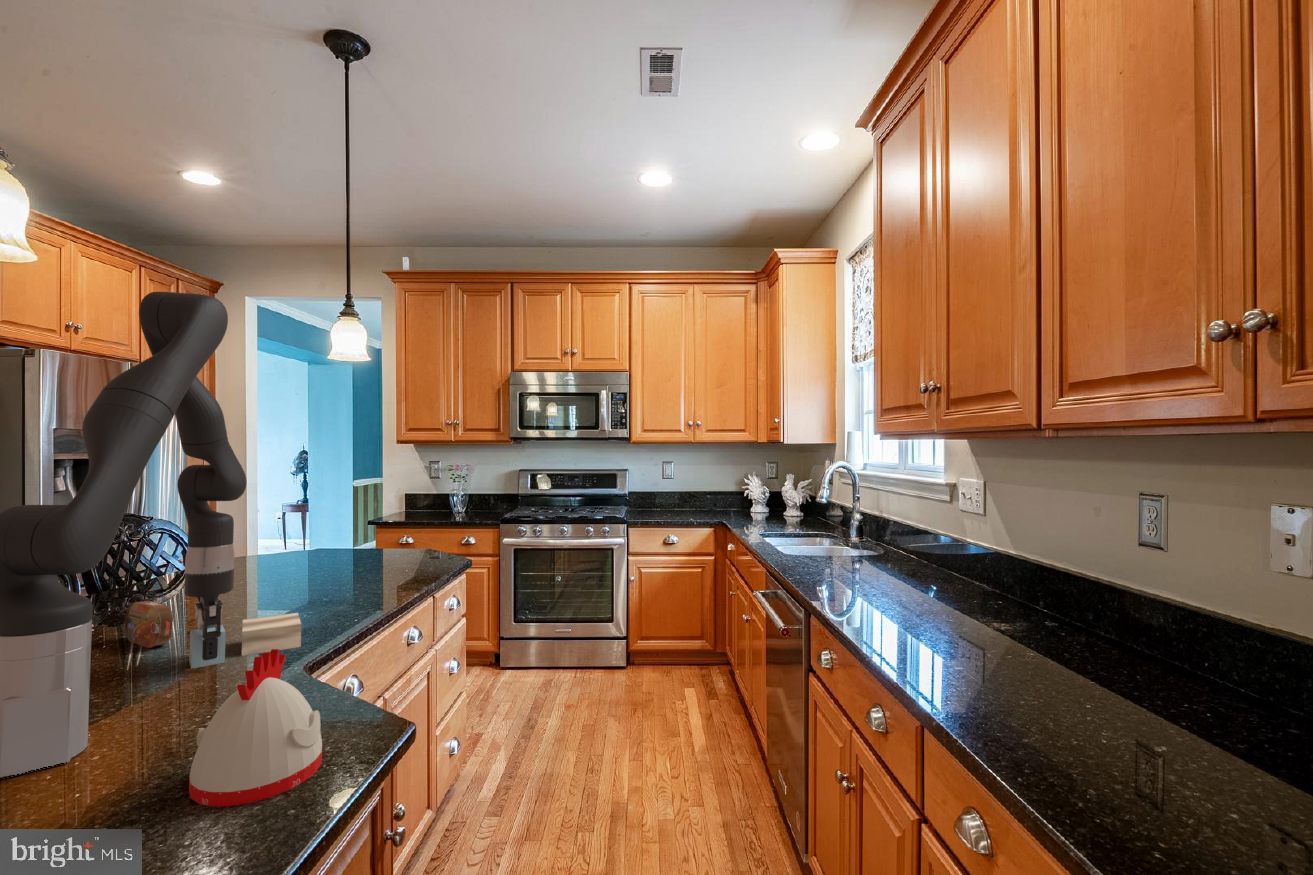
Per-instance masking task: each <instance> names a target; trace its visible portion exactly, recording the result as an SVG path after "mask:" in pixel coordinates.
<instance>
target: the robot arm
mask: <svg viewBox="0 0 1313 875" xmlns="http://www.w3.org/2000/svg"><path fill="white" fill-rule="evenodd" d="M138 316H139V323H140V327H141V331H142V333H143V334H142V335H143V337H144V339H145V341H146V344H147V346H148V350H149V352H150V354H151V356H150V357H148V358H146V359H145V360H143V361H141V362H139V363H137V364H136V365H133V366H132V367H130V368H129V369H126V370H125V371H123V372H121V373H120V374H118V375H117V376H116V377H114V378H112V379H111V380H110V381H109V382H108V383H107V384H106V385H105V386H104V387H103V388H102V389H101V391H100V393H99V394H98V396H97V397H96V399H95V400H94V401H93V403H92V404H91V406H90V407H89V409H88V411H87V412H86V415H84V418H83V421H82V425H81V426H82V430H81V431H82V438H83V442H84V446H85V450H86V454H87V457H88V472H87V475H86V476H85V478H84V481H83V482H82V485H80V487H79V490H78V491H77V493H76V494H75V496H74V497H73V498H72V500H71V501H70V502H69V503H67V504H23V505H15V506H12V507H9V508H7V509H4V510H3V511H0V777H3V776H9V775H15V776H18V775H17V774H19V775H23V774H26V773H25V772H27V773H29V772H28V771H30V770H35V771H37V770H36V769H39V770H41V769H40V768H43V767H47V768H49V767H48V766H52V767H55V766H54V765H56V764H60V763H64V764H67V763H70V761H71V760H72V758H74V757H76V756H78V755H79V754H80V753H82V752H83V751H84V750H86V748H87V747H88V743H89V742H88V740H89V738H88V736H89V734H88V733H89V712H90V711H89V710H90V708H89V707H90V686H91V684H90V680H91V678H90V677H91V653H92V635H93V633H92V631H93V602H92V601H91V599H90V598H88V597H86V596H84V595H82V594H78V593H76V592H75V591H72V590H71V589H68V588H67V587H65V586H64V585H63V584H62V583H61V581H59V578H58V576H65V575H66V576H68V575H69V576H70V575H78V574H83V573H86V572H88V571H89V570H92V569H93V568H95V567H96V566H97V565H98V564H99V563H100V562H101V561H102V560H103V559H104V558H105V556H106V554H107V553H108V551H109V550H110V548H111V546H112V544H113V542H114V541H115V538H116V536H117V533H118V531H119V528H120V527H121V526H120V525H121V524H122V521H123V519H124V516H125V513H126V512H127V509H128V506H129V504H130V501H131V498H132V496H133V494H134V492H135V488H136V486H137V485H138V483H139V480H140V478H141V477H142V474H143V472H144V470H145V468H146V466H147V465H148V463H149V461H150V459H151V457H152V455H153V453H154V451H155V449H157V446H158V445H159V443H160V441H161V439H162V438H163V437H164V435H165V433H166V432H167V430H168V428H169V426H170V424H171V422H172V421H173V419H174V416H175V420H176V426H177V430H178V435H179V440H180V444H181V449H182V451H183V453H184V454H185V455H186V456H187V457H190V458H193V459H194V458H195V459H198V460H201V461H205V462H207V463H208V464H191V465H189V466H186V467H185V468H183V470H181V472H180V474H179V476H178V478H177V483H176V484H177V486H176V487H177V492H178V495H179V498H180V501H181V504H182V508H183V511H184V514H185V515H184V516H185V519H186V522H187V528H188V529H187V549H186V554H185V562H184V564H185V565H184V588H183V589H184V595H185V596H187V597H191V598H196V599H197V602H196V603H194V613H195V615H194V617H195V622H196V628H197V629H200V630H202V636H201V639H202V641H203V647H202V659H203V660H210V659H215V658H216V657H217V652H218V638H219V637H220V635H221V632H220V630H221V625H222V623H223V620H222V618H223V617H222V612H223V609H224V607H223V606H224V605H223V602H222V600H221V599H219V596H220V595H222V594H223V595H225V594H228V593H230V592H231V591H233V589H234V581H235V580H234V579H235V575H234V574H235V548H234V536H235V535H234V533H235V532H234V528H235V525H234V524H235V521H234V517H233V516H232V515H230V514H228V513H225V512H219V511H216V510H213V509H212V508H211V506H210V504H209V502H233V501H235V500H237V499H239V498H241V497H242V496H243V494H244V493H245V491H246V489H247V483H248V482H247V476H246V473H245V470H244V469H243V466H242V465H241V463H240V461H239V459H238V458H237V456H236V454H235V452H234V450H233V448H232V445H231V444H230V442H229V438H228V432H227V427H226V421H225V417H224V413H223V412H224V411H223V409H222V408H221V406H220V403H219V402H218V401H217V399H216V398H215V396H214V395H213V394H212V393H211V392H210V390H209V389H208V388H207V387H206V386H205V384H204V383H203V382H202V381H201V380H200V379H199V378H198V374H199V373H200V372H201V370H202V369H203V368H204V366H205V365H206V363H207V362H208V361H209V360H210V358H211V357H212V355H214V353H215V351H216V350H217V348H218V347H219V346H220V344H221V342H222V341H223V339H224V338H225V335H226V332H227V329H228V324H229V317H228V316H229V315H228V310H227V308H226V306H225V305H224V303H223V302H222V301H220V300H219V299H218V298H216V297H214V296H211V295H207V294H206V295H205V294H201V293H192V292H191V293H186V292H176V291H175V292H174V291H152V292H150V293H149V292H148V293H147V294H146V295H145V296H144V297H142V299H141V301H140V303H139V308H138ZM208 628H215V631H211V632H207V629H208ZM66 762H67V763H66ZM60 765H61V764H60ZM56 766H57V765H56ZM43 769H44V768H43ZM22 773H23V774H22Z"/></svg>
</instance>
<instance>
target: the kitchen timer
mask: <svg viewBox="0 0 1313 875" xmlns="http://www.w3.org/2000/svg"><path fill="white" fill-rule="evenodd" d="M286 656H287V655H286V654H284V653H283V654H282V653H281V654H280V650H279V649H271V652H264V653H261V656H254V658H253V665H252V670H249V669H248V670H245V679H246V680H245V682H246V683H245V684H237V685H236V686H237V690H235V691H234V692H233V693H232V694H231V695H230V696H229V697H228V698H226V699H225V701H224V702H222V704H221V705H220V707H219V708H218V709H217V710H216V712H215V713H214V714H213V716H212V718H211V720H210V721H209V722H208V725H207V726H206V727H201V728H199V729H198V731H197V734H196V745H197V750H196V752H195V755H194V756H193V757H194V758H193V760H192V764H191V767H190V771H189V781H188V782H189V783H188V792H189V796H190V799H191V800H192V801H194V802H196V803H197V804H199V805H204V806H208V807H209V806H210V807H232V806H239V805H240V806H241V805H246V804H252V803H254V802H258V801H261V800H262V801H263V800H265V799H270V798H272V797H274V796H277V795H279V794H282V793H284V792H286V791H289V790H291V789H293V788H295V787H297V786H298V785H300V784H302V783H304V782H306V781H307V779H309V778H310V777H312V776H313V775H314V774H315V773H316V772H317V771H318V769H319V768H320V766H321V765H322V761H323V760H322V759H323V740H322V739H323V738H322V733H321V714H320V711H319V710H313V709H312V707H311V705H310V703H309V702H308V701H307V699H306V698H305V696H304V695H303V694H302V693H301V692H300V690H298V689H297V688H296V687H295V686H294V685H292V684H291V683H289V682H287V681H285V680H283V679H280V678H281V675H282V673H283V668H284V664H285V660H286Z"/></svg>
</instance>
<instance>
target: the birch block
mask: <svg viewBox="0 0 1313 875" xmlns="http://www.w3.org/2000/svg"><path fill="white" fill-rule="evenodd" d="M241 627H242V631H241V635H242V636H241V656H242V657H246V656H250V655H256V654H257V655H258V654H262V653H271V649H279V651H282V650H283V651H284V650H288V649H295V648H300V647H302V620H301V619H300V615H299V612H295V613H294V612H293V613H284V614H276V615H269V616H259V617H253V618H252V617H251V618H245V619H242V626H241Z"/></svg>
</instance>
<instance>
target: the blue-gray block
mask: <svg viewBox="0 0 1313 875" xmlns="http://www.w3.org/2000/svg"><path fill="white" fill-rule="evenodd" d="M211 631H215V628H208V629H207V632H211ZM189 632H190V633H189V655H188V656H189V657H188V658H189V659H188V660H189V665H190V669H191V670H192V668H193V669H198V668H202V667H208V666H209V667H210V666H213V665H220V664H223V663H225V662H226V641H227V640H226V638H227V637H226V636H227V635H226V634H227V631H226V629H225V627H224V625H223V624H221V630H220V632H221V635H220V637H219V638H218V652H217V657H216V658H215V659H210V660H203V659H202V647H203V641H202V639H201V636H202V630H200V629H198V628H195V629H190V630H189Z"/></svg>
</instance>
